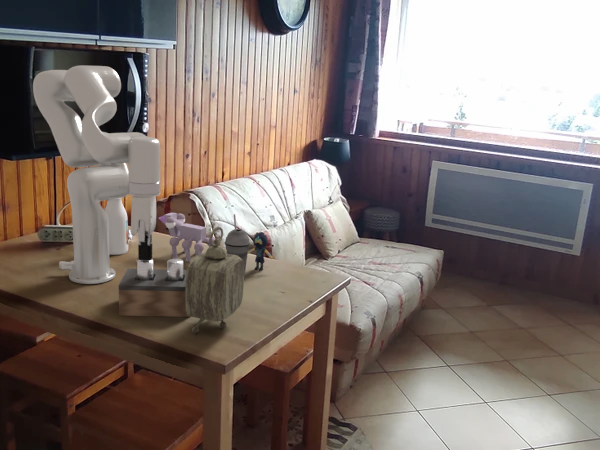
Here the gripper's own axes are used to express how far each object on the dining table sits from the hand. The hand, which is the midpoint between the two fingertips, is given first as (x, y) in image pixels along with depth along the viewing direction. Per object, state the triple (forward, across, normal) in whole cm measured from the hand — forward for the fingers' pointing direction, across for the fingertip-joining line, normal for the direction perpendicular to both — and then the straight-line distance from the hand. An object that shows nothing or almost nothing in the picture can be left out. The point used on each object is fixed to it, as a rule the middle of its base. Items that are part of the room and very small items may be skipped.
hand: (145, 259), depth 153 cm
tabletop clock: (+13, +11, +18) cm, 25 cm away
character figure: (+13, -30, +30) cm, 44 cm away
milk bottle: (+13, -43, -16) cm, 48 cm away
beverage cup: (+13, -20, +23) cm, 33 cm away
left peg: (+8, 0, 0) cm, 8 cm away
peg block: (+13, 0, +3) cm, 13 cm away
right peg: (+8, 0, +7) cm, 11 cm away
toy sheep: (+13, -41, +6) cm, 43 cm away
